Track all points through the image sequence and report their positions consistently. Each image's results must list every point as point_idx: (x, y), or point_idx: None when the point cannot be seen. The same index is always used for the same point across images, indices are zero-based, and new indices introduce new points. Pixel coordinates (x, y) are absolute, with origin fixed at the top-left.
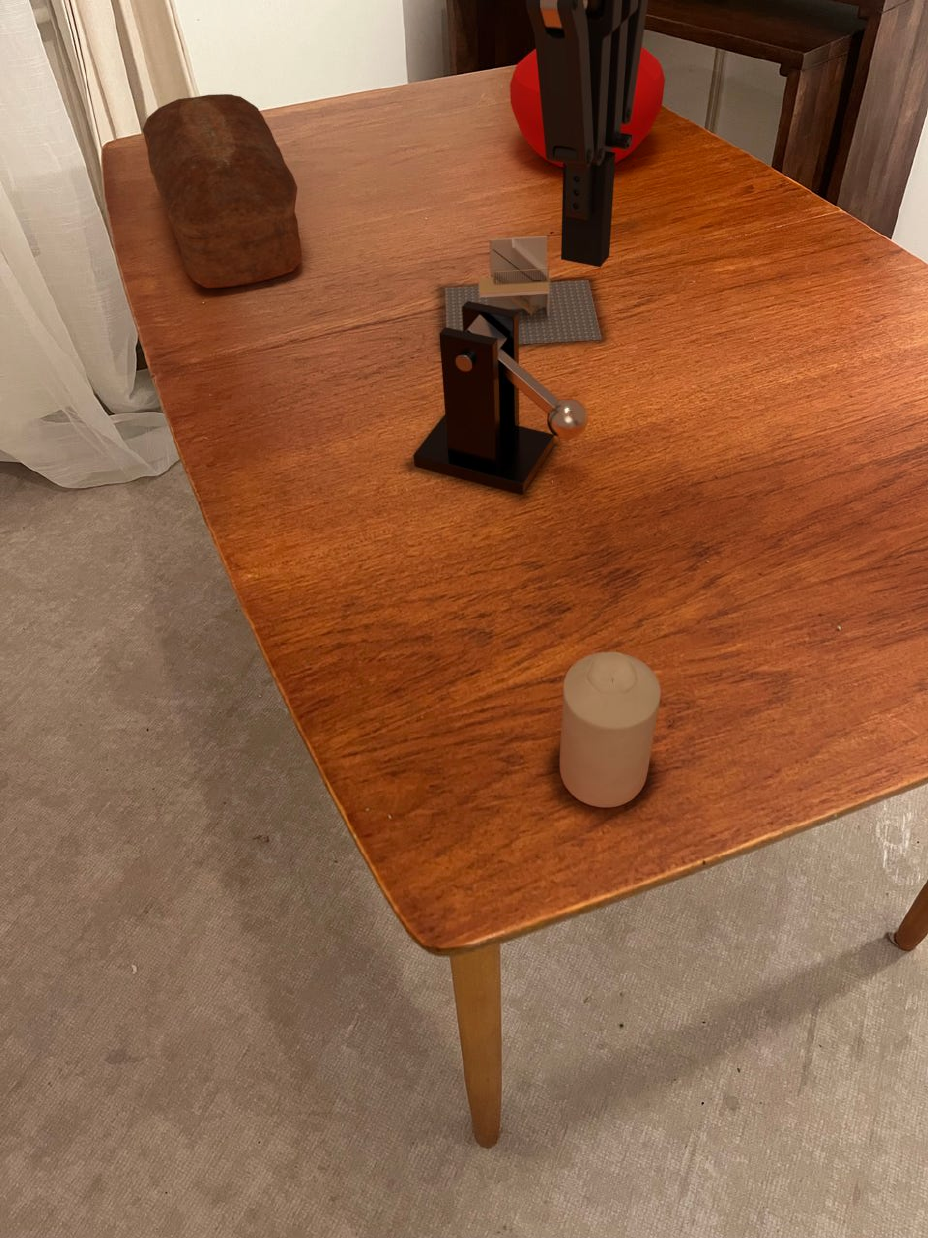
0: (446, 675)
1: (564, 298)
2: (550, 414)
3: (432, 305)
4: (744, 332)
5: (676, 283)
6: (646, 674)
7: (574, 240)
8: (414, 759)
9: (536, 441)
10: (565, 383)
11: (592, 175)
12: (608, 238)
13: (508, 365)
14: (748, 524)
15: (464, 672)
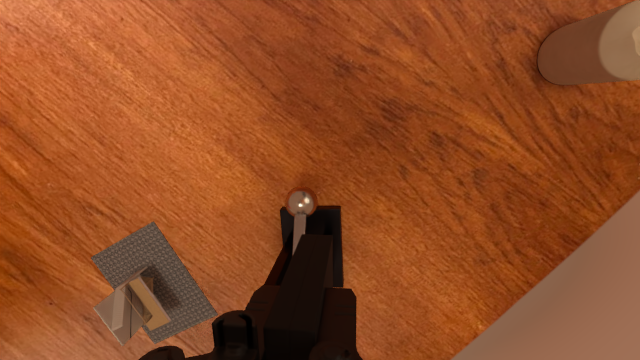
0: (519, 181)
1: (121, 264)
2: (309, 215)
3: (177, 343)
4: (88, 125)
5: (58, 195)
6: (635, 14)
7: (330, 286)
8: (593, 169)
9: (293, 218)
10: (214, 225)
11: (334, 335)
12: (303, 246)
13: None
14: (301, 46)
15: (513, 172)
